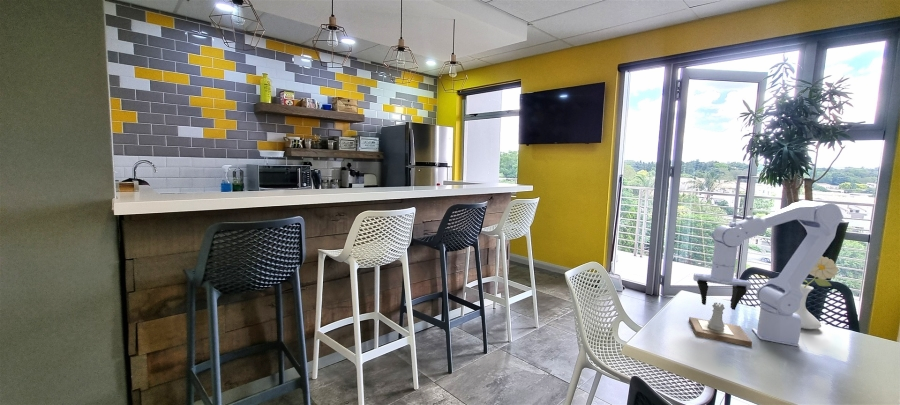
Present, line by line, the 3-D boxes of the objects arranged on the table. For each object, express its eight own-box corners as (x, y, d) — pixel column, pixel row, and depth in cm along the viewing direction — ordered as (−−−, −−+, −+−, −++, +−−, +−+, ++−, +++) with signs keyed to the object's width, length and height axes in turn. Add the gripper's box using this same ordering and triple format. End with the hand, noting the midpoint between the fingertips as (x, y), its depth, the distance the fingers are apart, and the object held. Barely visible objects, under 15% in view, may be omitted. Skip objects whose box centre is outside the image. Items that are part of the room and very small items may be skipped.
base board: (739, 330, 121) (740, 325, 121) (751, 346, 110) (752, 341, 110) (688, 321, 126) (689, 316, 126) (695, 335, 116) (696, 330, 115)
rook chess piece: (727, 332, 115) (730, 307, 114) (711, 330, 116) (714, 305, 115) (720, 326, 119) (723, 302, 118) (704, 324, 120) (707, 300, 119)
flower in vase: (772, 323, 128) (783, 252, 125) (777, 315, 135) (788, 248, 132) (826, 338, 118) (839, 261, 115) (828, 328, 126) (841, 256, 123)
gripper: (698, 263, 115) (693, 305, 117) (756, 271, 109) (750, 315, 111) (694, 258, 122) (689, 298, 123) (749, 265, 116) (743, 307, 117)
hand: (717, 306), depth 118 cm, fingers open, 7 cm apart
